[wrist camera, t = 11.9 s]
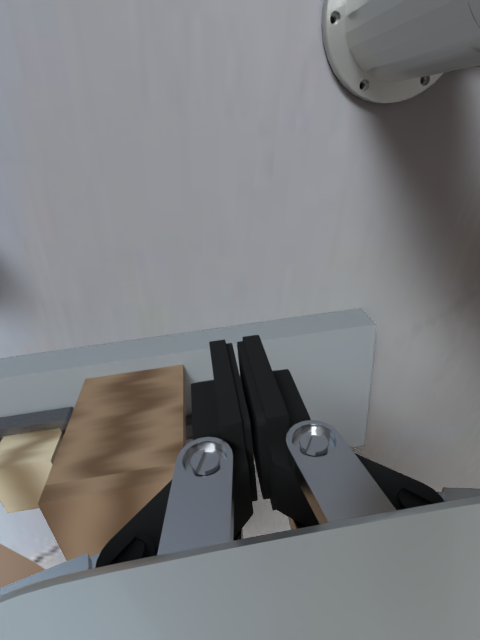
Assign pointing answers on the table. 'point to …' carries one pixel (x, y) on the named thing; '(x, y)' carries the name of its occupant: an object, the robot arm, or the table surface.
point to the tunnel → (114, 456)
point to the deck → (194, 354)
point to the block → (26, 467)
